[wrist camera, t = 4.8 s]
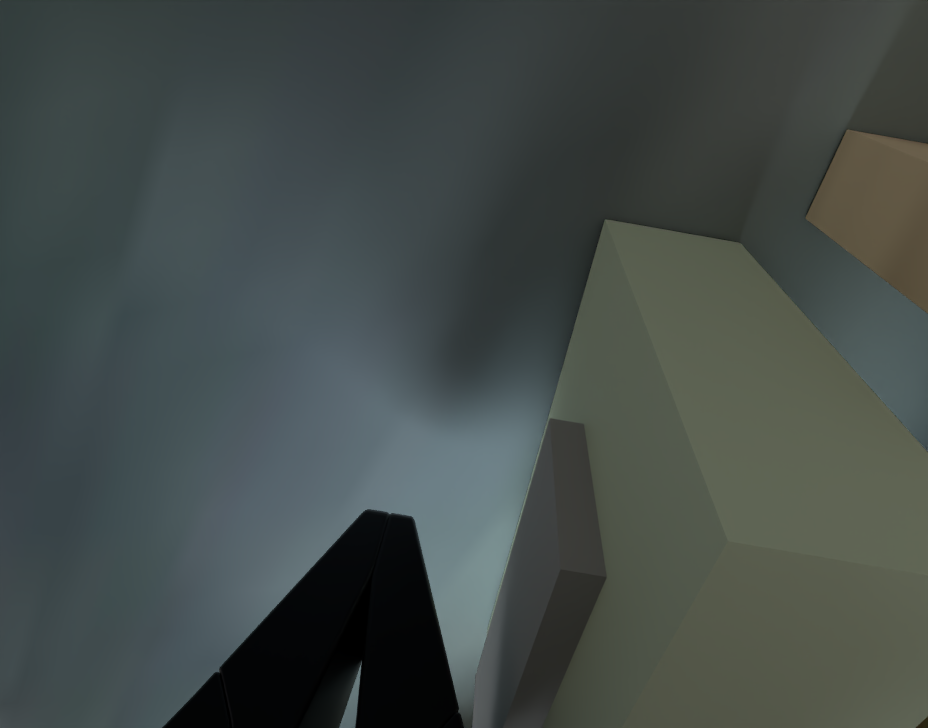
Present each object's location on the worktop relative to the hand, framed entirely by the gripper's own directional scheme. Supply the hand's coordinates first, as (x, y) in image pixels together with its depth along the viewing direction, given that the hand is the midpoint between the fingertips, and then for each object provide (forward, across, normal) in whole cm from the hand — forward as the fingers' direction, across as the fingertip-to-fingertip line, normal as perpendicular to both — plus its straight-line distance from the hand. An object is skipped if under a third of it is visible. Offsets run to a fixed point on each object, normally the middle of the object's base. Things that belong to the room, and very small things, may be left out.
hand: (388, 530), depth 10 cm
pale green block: (+2, -3, 0) cm, 4 cm away
